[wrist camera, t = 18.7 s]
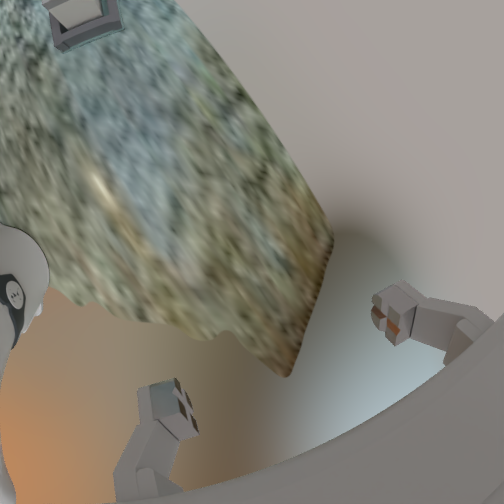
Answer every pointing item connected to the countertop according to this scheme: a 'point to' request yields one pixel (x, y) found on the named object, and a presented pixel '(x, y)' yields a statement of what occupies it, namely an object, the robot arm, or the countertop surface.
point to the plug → (74, 11)
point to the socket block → (87, 28)
